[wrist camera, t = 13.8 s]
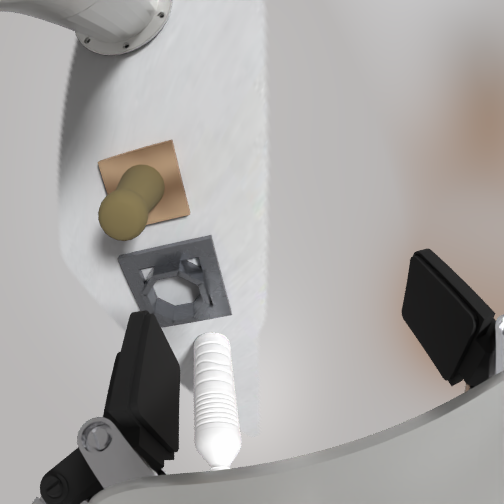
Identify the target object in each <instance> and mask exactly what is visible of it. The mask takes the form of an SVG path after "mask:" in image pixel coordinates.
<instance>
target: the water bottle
mask: <svg viewBox="0 0 504 504" xmlns="http://www.w3.org/2000/svg"><path fill="white" fill-rule="evenodd" d="M194 425H195V427H194V428H195V436H194V440H195V446H196V449H197V451H198V452H199V453H200V455H201V456H202V457H203V458H204V459H205V460H206V462H207V463H208V464H209V465H210V466H211V469H210V471H216V470H224V469H231V468H230V465H231V463H232V462H233V460H234V459H235V457H236V456H237V454H238V452H239V451H240V449H241V444H242V439H241V433H240V426H239V418H238V411H237V403H236V392H235V383H234V375H233V366H232V357H231V347H230V342H229V340H228V338H227V337H225V336H224V335H222V334H220V333H213V332H209V333H204V334H203V335H200V336H199V337H197V338H196V340H195V342H194Z"/></svg>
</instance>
